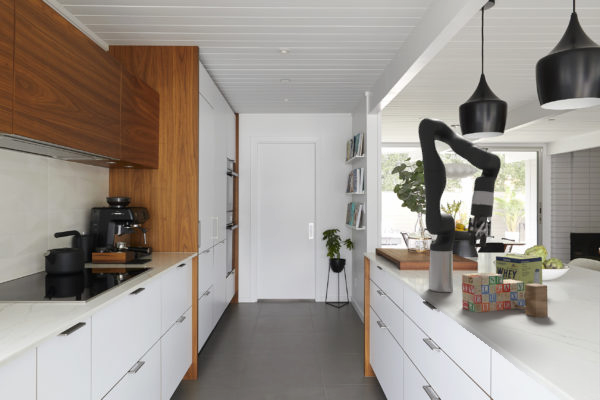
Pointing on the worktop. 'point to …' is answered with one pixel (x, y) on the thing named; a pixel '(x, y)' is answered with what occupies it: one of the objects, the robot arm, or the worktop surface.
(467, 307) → the stack of blocks
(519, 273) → the protein box
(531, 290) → the wooden mallet
